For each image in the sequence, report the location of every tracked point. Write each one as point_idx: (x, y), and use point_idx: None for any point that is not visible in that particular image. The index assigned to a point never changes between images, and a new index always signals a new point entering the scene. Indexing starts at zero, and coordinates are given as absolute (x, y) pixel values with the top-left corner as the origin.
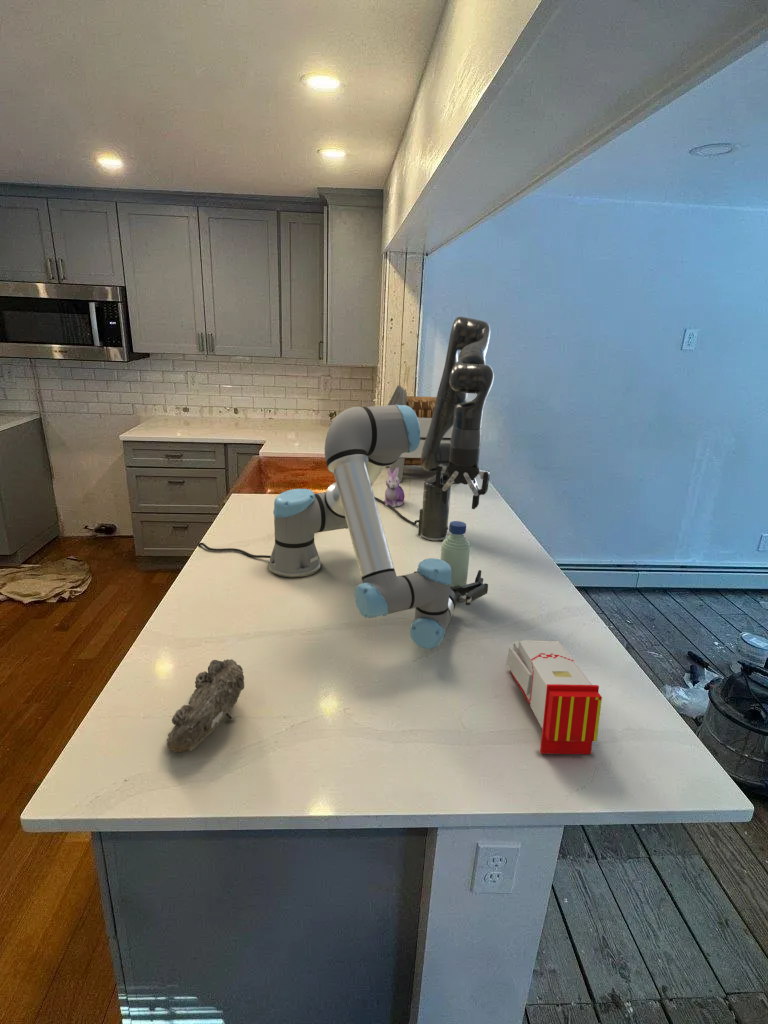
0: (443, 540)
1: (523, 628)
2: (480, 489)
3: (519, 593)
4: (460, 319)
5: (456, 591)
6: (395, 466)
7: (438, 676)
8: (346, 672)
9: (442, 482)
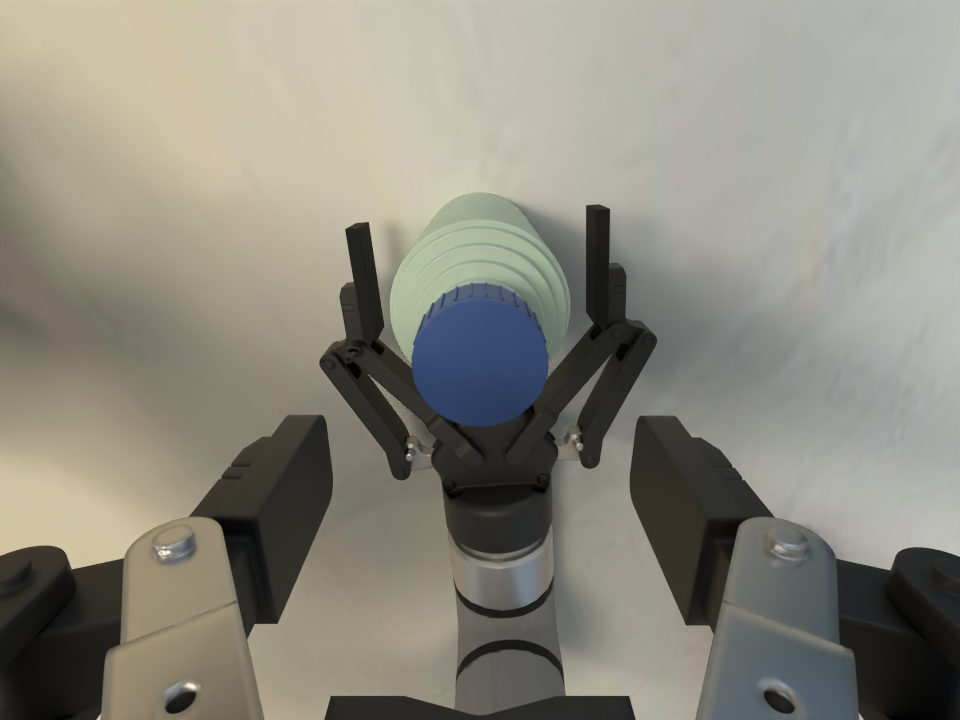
0: (395, 324)
1: (759, 367)
2: (864, 655)
3: (755, 91)
4: None
5: (538, 445)
6: None
7: None
8: (368, 692)
9: (36, 619)
